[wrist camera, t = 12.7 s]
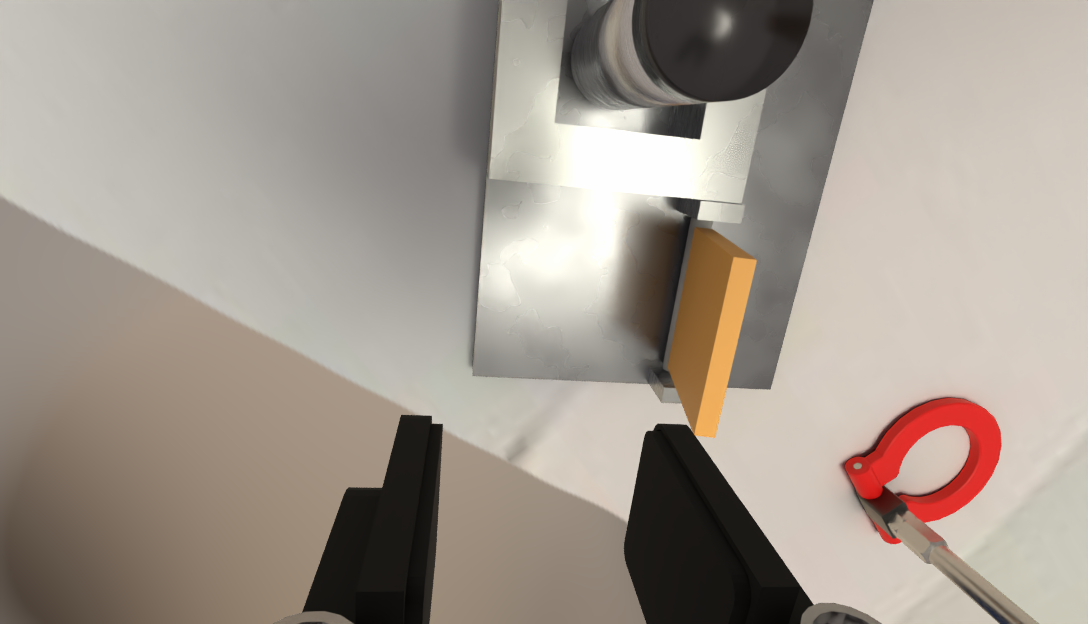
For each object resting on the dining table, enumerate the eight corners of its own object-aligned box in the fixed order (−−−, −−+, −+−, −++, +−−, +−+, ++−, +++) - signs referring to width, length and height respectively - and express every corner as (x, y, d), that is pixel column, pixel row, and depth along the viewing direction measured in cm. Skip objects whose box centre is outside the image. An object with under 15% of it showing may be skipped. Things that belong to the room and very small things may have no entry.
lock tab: (689, 216, 26) (732, 248, 19) (710, 219, 26) (761, 251, 18) (661, 363, 28) (690, 441, 21) (680, 365, 28) (716, 444, 21)
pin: (577, 0, 22) (666, -107, 12) (671, 14, 23) (834, -76, 12) (565, 104, 23) (636, 91, 13) (654, 115, 24) (789, 110, 14)
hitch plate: (509, -150, 21) (519, -229, 16) (880, -81, 23) (981, -132, 19) (472, 367, 28) (471, 416, 23) (761, 381, 30) (813, 428, 26)
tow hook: (963, 368, 32) (831, 454, 33) (1272, 508, 20) (1056, 643, 21) (999, 462, 35) (877, 541, 36) (1288, 635, 23) (1099, 751, 23)
